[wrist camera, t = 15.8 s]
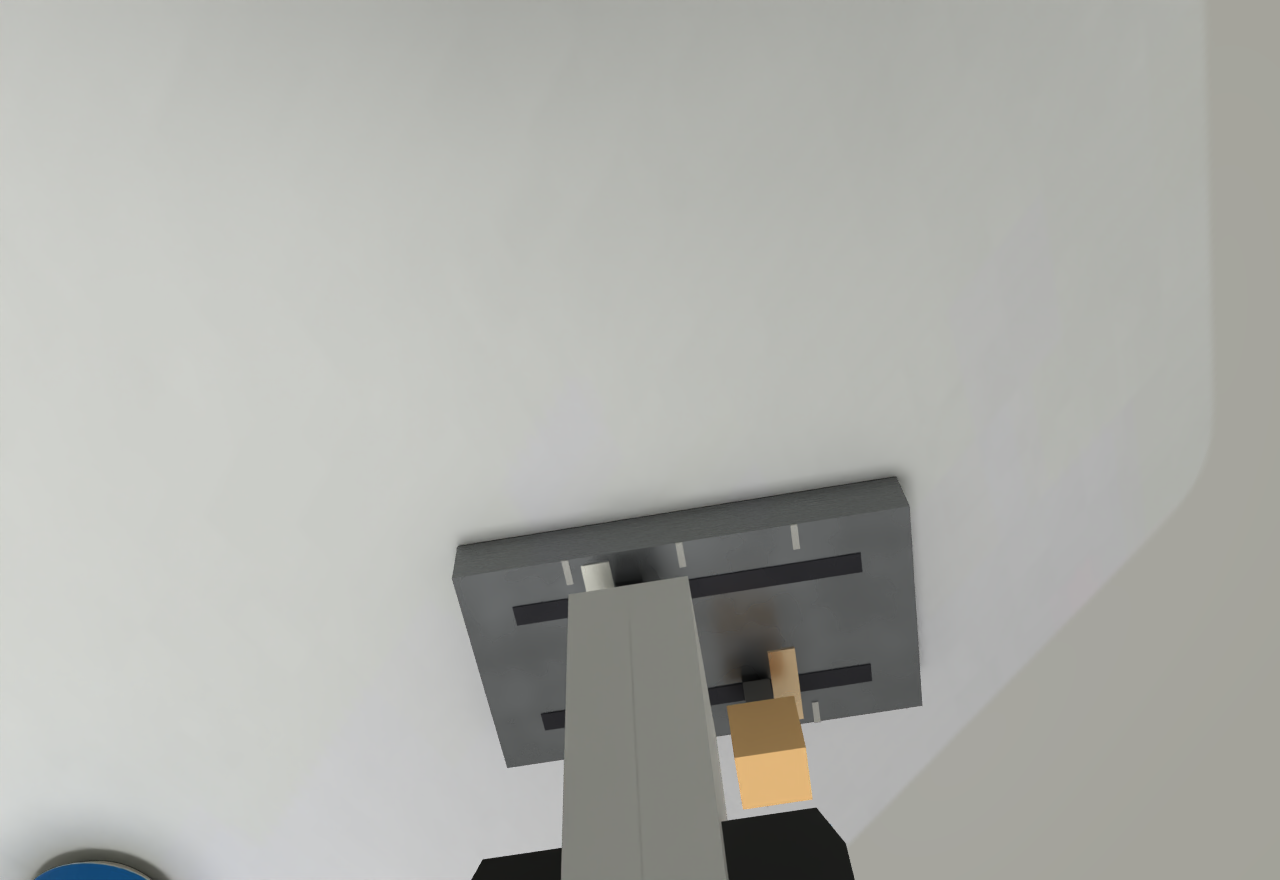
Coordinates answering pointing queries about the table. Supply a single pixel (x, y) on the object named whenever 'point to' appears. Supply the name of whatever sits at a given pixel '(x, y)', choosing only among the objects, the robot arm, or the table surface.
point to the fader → (768, 748)
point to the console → (711, 605)
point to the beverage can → (92, 872)
